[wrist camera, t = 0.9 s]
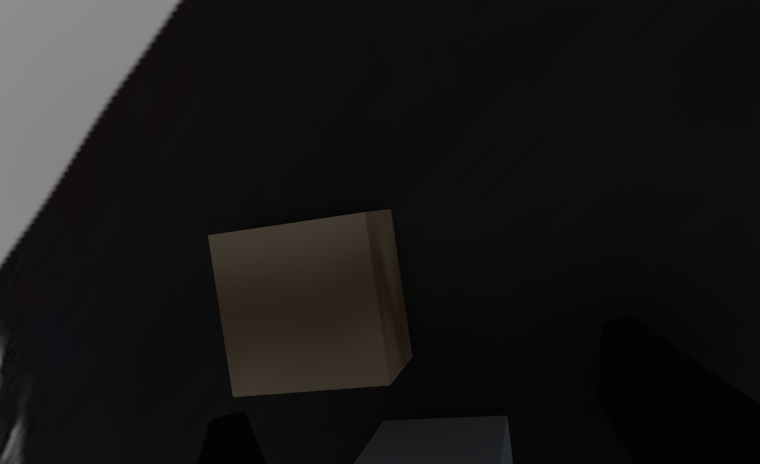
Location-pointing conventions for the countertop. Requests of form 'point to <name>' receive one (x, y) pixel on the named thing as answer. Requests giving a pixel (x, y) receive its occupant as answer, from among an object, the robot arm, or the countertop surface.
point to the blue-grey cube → (440, 442)
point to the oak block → (312, 305)
